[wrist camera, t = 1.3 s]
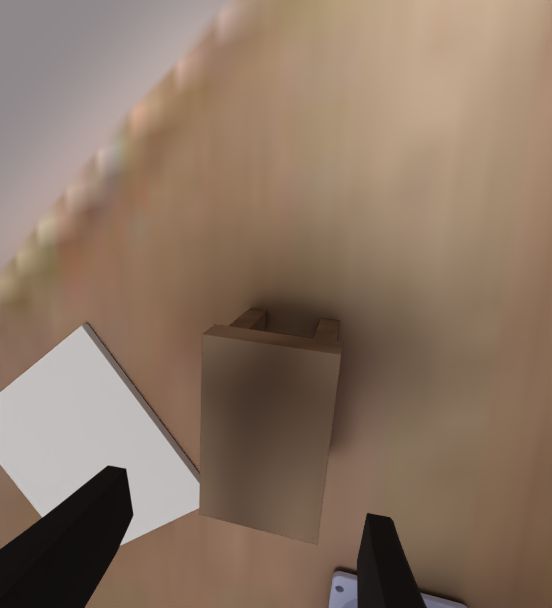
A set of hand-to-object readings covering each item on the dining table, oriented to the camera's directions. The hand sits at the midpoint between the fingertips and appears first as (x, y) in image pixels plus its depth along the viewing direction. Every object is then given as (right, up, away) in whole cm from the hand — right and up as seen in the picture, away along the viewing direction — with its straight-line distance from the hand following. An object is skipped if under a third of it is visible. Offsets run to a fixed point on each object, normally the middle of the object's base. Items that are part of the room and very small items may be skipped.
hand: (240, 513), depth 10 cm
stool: (+2, +2, +10) cm, 10 cm away
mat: (-12, -4, +15) cm, 20 cm away
